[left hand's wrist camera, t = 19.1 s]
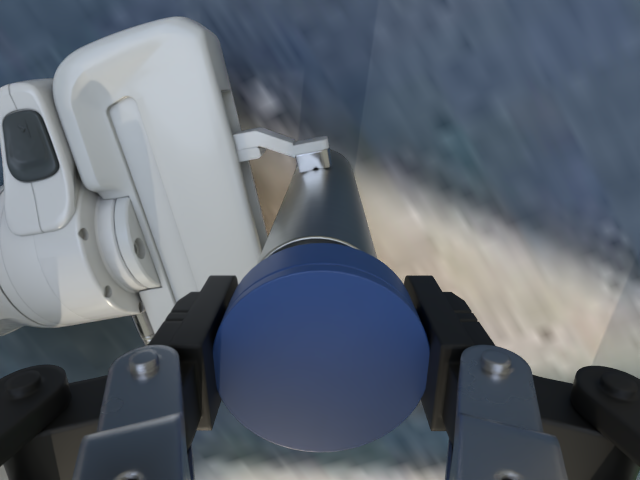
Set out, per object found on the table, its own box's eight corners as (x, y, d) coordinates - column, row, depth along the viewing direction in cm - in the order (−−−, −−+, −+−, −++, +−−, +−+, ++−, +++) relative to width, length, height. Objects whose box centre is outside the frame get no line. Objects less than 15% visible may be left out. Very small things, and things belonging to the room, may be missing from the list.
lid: (454, 317, 11) (478, 356, 9) (333, 430, 12) (335, 482, 10) (305, 201, 9) (302, 223, 8) (190, 341, 11) (168, 383, 9)
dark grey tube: (287, 196, 29) (221, 367, 11) (304, 140, 28) (260, 235, 10) (342, 214, 29) (361, 406, 12) (361, 160, 28) (418, 284, 10)
